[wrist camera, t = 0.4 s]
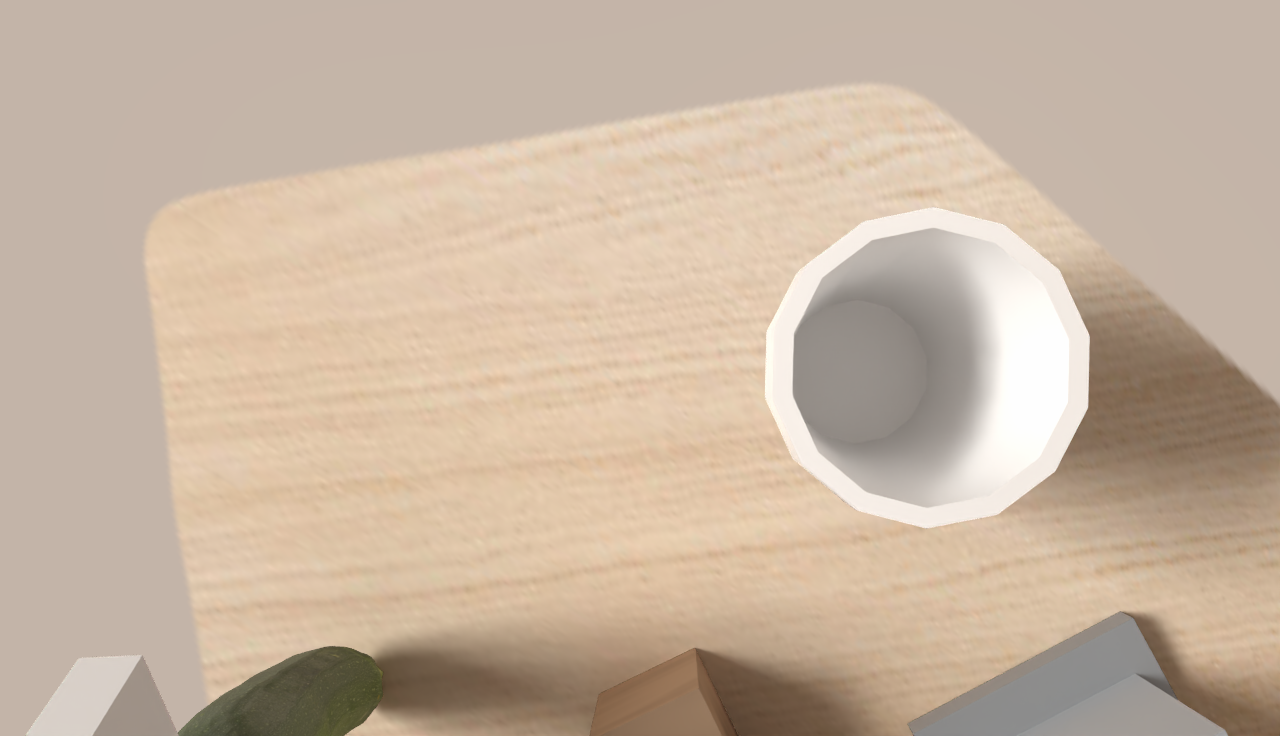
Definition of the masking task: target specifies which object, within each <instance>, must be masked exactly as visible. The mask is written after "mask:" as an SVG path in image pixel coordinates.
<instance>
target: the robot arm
mask: <svg viewBox="0 0 1280 736" xmlns="http://www.w3.org/2000/svg"><path fill="white" fill-rule="evenodd" d="M25 736H179V735H178V733H177V731H176V728H175V726H174V724H173V722H172V720H171V717H170V715H169V713H168V711H167V709H166V706H165V704H164V702H163V700H162V697H161V695H160V693H159V691H158V689H157V687H156V684H155V682H154V680H153V678H152V675H151V673H150V671H149V669H148V667H147V664H146V662H145V660H144V658H143V656H142V655H132V656H112V657H91V658H79V659H78V660H77V662H76V663H75V664H74V666H73V667H72V669H71V670H70V672H69V673H68V675H67V676H66V678H65V679H64V680H63V682H62V683H61V685H60V686H59V688H58V689H57V690H56V692H55V693H54V695H53V696H52V698H51V699H50V701H49V702H48V703H47V705H46V706H45V708H44V709H43V711H42V712H41V714H40V715H39V716H38V718H37V719H36V721H35V722H34V724H33V725H32V727H31V728H30V730H29V731H28V733H27V734H26V735H25Z"/></svg>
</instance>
